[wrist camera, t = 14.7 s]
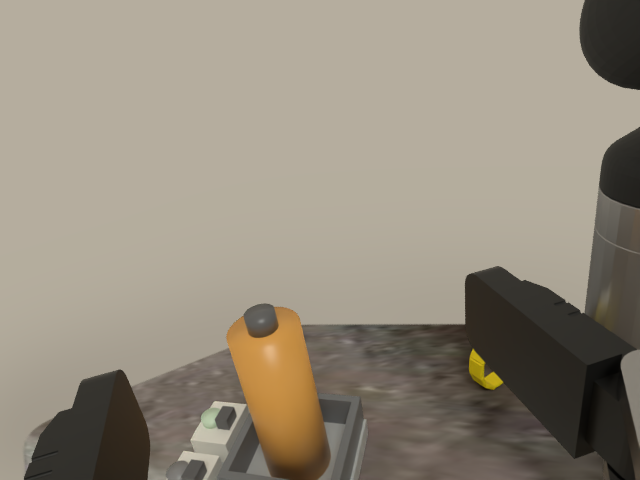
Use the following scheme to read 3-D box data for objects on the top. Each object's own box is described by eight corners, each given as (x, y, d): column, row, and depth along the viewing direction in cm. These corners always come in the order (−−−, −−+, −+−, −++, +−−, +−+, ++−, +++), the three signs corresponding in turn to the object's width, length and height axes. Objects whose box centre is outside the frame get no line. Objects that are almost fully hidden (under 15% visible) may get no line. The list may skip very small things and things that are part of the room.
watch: (506, 359, 43) (510, 305, 41) (532, 374, 41) (538, 318, 39) (461, 385, 40) (463, 328, 38) (486, 403, 38) (490, 344, 36)
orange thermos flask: (336, 434, 36) (304, 291, 30) (322, 491, 31) (283, 336, 26) (279, 430, 37) (239, 292, 32) (258, 484, 33) (208, 336, 27)
